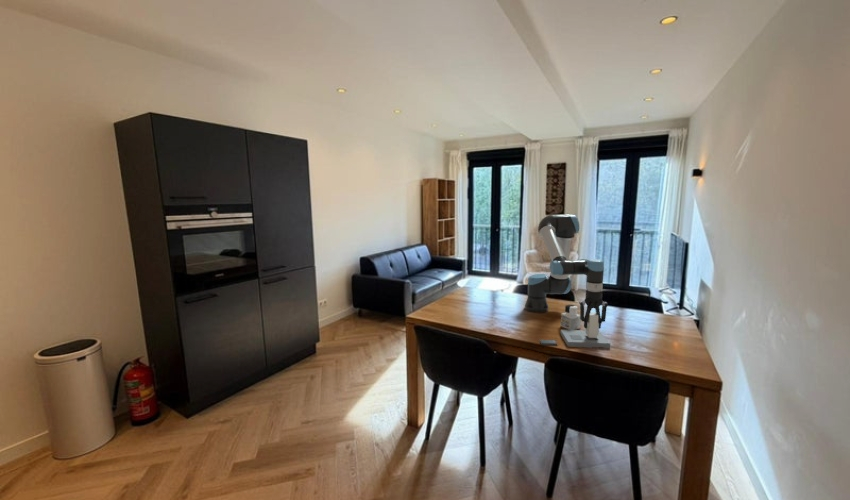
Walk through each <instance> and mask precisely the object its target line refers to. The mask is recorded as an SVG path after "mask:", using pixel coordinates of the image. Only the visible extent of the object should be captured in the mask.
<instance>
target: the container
mask: <svg viewBox="0 0 850 500" xmlns="http://www.w3.org/2000/svg"><path fill="white" fill-rule="evenodd" d="M578 307H579V306H577V305H575V304H567V305H565V307H564V312H562V313H561V314H560V326H561V327H562V328H565V330H580V329H581V328H582V320H581V319H580V314H578V312H579V311H578Z"/></svg>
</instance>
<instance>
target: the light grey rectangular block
mask: <svg viewBox="0 0 850 500" xmlns="http://www.w3.org/2000/svg"><path fill="white" fill-rule="evenodd" d="M588 322H589V335H587V336H588V337H589V338H597V334H598V315H597V314H596V312H590V315H589V319H588Z"/></svg>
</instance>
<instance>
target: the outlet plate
mask: <svg viewBox="0 0 850 500" xmlns="http://www.w3.org/2000/svg"><path fill="white" fill-rule="evenodd" d="M585 332H586V329H585V330H582V329H581V330H580V329H575V330H568V329H560V335H561V337H562V339H563V341H564V343H565V345H566V346H567V347H570V348H571V347H573V348H592V347H604V348H603V349H611V342H610V341H609V340H608V339H607V338H606V336H605V335H603V333H602V332H601V331H600V330H599V334H598V335H597V338H589V337H588V336H587V334H586V333H585Z"/></svg>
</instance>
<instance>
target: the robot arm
mask: <svg viewBox="0 0 850 500" xmlns="http://www.w3.org/2000/svg"><path fill="white" fill-rule="evenodd" d="M537 227H538V228H537V231H538V232H537V233H538V234H539V237H540V238H542V241H543V242H544V245H545V247H546V250H547V252H548V255H549V257H550V260H551V261H550V264H549V271H550V273H549V275H548V276H547V274H544V273H535V274H531V275H530V276H528V280H527V297H526V301H525V303H524V309H525V310H526V311H528V312H530V313H546V312H548V311H549V303H548V301H547V295H563V294H564V295H565V294H568V293H569V292H570V290H571V289H572V278H571V277H570V276H574V275H578V276H579V275H581V276H582V275H585V276H586V278H585V279H586V280H585V281H586V283H585V289H586V290H585V298H584V300H583V301H578V303H579V306H580V307H579V308H580V309H579V311H580V313H579V315H580V319H581V322H583V327H584V329H585V330H586V332H585V333H586V334H587V335H589V322H588V319H589V315H590V313H592V312H591V311H592V310H593V309H595V313H596V314H597V315H598V334H599V331H600V329H601V328H602V324H603V323H605V322H606V319H607V318H606V315H607V308H608V306H609V303H608V302H607V301H603V289H604V288H603V284H604V272H605V271H604V269H605V267H604V266H605V265H604V261H603V260H602V259H596V258H592V259H591V258H590V259H586V258H581V259H578V260H569V259H570V251H571V243H572V239H574V238H575V234H578V233H579V232H580V222H579V218H578V217H577V215H575V214H568V213H567V214H549V215H546V216H544V217H543V218H542V219H541V220H540V221H539V224H538V226H537ZM585 305H586V310H585ZM600 306H601V309H600ZM600 310H601V313H600ZM598 334H597V335H598Z"/></svg>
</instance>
